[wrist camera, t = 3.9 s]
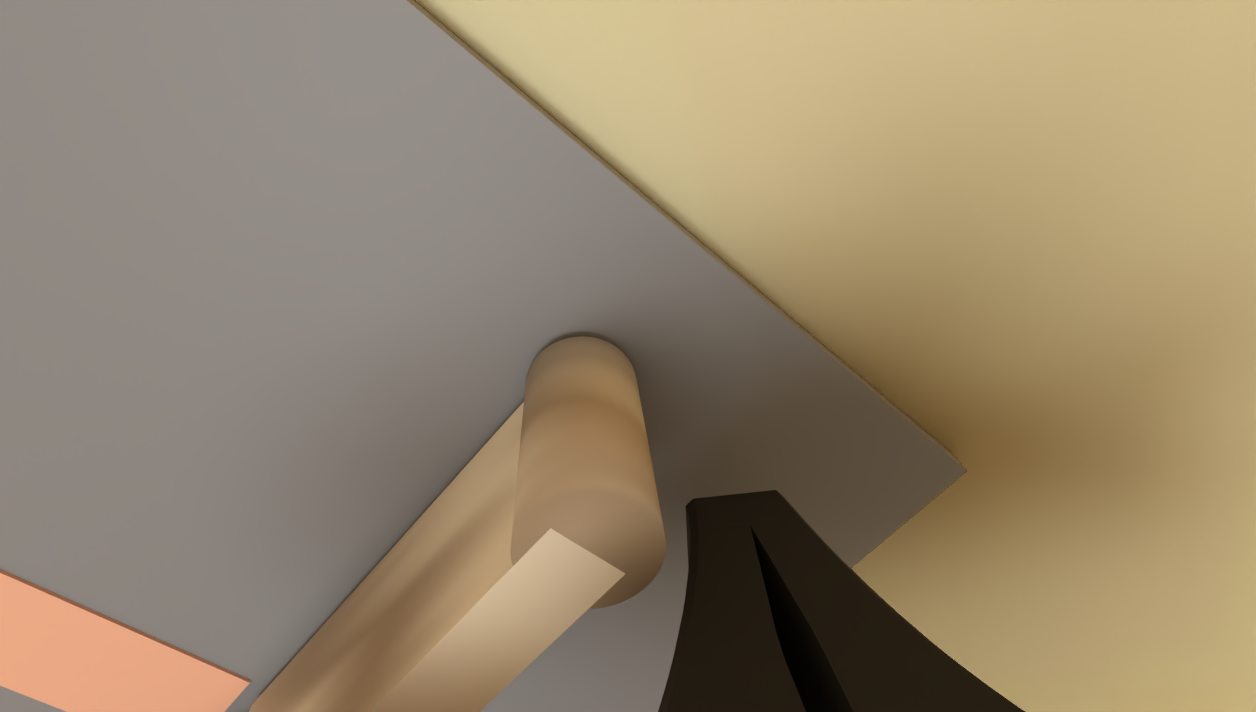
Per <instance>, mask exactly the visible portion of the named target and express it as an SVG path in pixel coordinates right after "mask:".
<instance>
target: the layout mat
mask: <svg viewBox="0 0 1256 712" xmlns="http://www.w3.org/2000/svg"><path fill="white" fill-rule="evenodd" d="M581 336H584V337H593V338H598V339H601V340H604V341H607V342H609V343H611V344H613V345H614V346H616V347H617V348H618V349H620V350H621V351H622V352H623V353H624V354H625V355H626V356H627V357H628V359H629V360H630V362H631V364H632V366H633V368H634V371H635V374H636V379H637V384H638V390H639V395H640V401H641V406H642V412H643V417H644V423H645V428H646V434H647V439H648V445H649V450H650V456H651V461H652V467H653V472H654V478H655V483H656V489H657V494H658V500H659V506H660V511H661V517H662V522H663V528H664V533H665V539H666V553H665V559H664V561H663V564H662V567H661V569H660V571H659V572H658V574H657V575H656V577H655V578H654V580H653V581H652V582H651V583H650V584H649V585H648V586H647V587H646V588H645V589H643V590H642V591H641V592H640V593H638V594H637V595H635V596H633V597H632V598H630V599H628V600H626V601H624V602H621V603H618V604H616V605H612V606H608V607H604V608H598V609H588V610H587V611H586V612H585V613H584V614H582V615H581V616H580V617H579V618H578V619H577V620H576V621H575V622H574V623H573V624H572V625H571V626H570V627H569V628H568V629H567V630H566V631H564V632H563V633H562V634H561V635H560V636H559V637H558V638H557V639H556V640H555V641H554V642H553V643H552V644H551V645H550V646H549V647H548V648H546V649H545V650H544V651H543V652H542V653H541V654H540V655H539V656H538V657H537V658H536V659H535V660H534V661H533V662H532V663H531V664H530V665H528V666H527V667H526V668H525V669H524V670H523V671H522V672H521V673H520V674H519V675H518V676H517V677H516V678H515V679H514V680H513V681H512V682H510V683H509V684H508V685H507V686H506V687H505V688H504V689H503V690H502V691H501V692H500V693H499V694H498V695H497V696H496V697H495V698H494V699H492V700H491V701H490V702H489V703H488V704H487V705H486V706H485V707H484V708H483V709H482V710H481V711H480V712H658V710H659V707H660V704H661V700H662V697H663V694H664V690H665V687H666V683H667V680H668V676H669V672H670V668H671V664H672V660H673V656H674V652H675V647H676V642H677V637H678V633H679V628H680V623H681V619H682V614H683V608H684V602H685V594H686V587H687V579H688V571H689V570H688V548H687V526H686V505H687V504H688V503H689V502H690V501H691V500H692V499H694V498H703V497H713V496H722V495H732V494H741V493H751V492H760V491H770V490H777V491H778V492H779V493H780V494H781V495H783V496H784V497H785V499H786V500H787V501H788V502H789V503H790V504H791V506H792V507H793V508H794V509H795V510H796V511H797V512H798V513H799V515H800V516H801V517H802V518H803V519H804V520H805V521H806V522H807V523H808V525H809V526H810V527H811V528H812V529H813V530H814V531H815V532H816V533H817V534H818V535H819V536H820V538H821V539H822V540H823V541H824V542H825V543H826V544H827V545H828V546H829V547H830V548H831V549H832V550H833V551H834V552H835V553H836V554H837V555H838V556H839V557H840V558H841V559H842V560H843V561H844V562H845V563H846V564H847V565H848V566H849V567H850V568H852V567H853V566H854V565H855V564H856V563H858V562H859V561H860V560H861V559H862V558H864V557H865V556H866V555H867V554H868V553H870V552H871V551H872V550H873V549H874V548H876V547H877V546H878V545H879V544H880V543H882V542H883V541H884V540H885V539H886V538H888V537H889V536H890V535H891V534H892V533H894V532H895V531H896V530H897V529H898V528H900V527H901V526H902V525H903V524H904V523H906V522H907V521H908V520H909V519H910V518H911V517H913V516H914V515H915V514H916V513H917V512H919V511H920V510H921V509H922V508H923V507H925V506H926V505H927V504H928V503H929V502H931V501H932V500H933V499H934V498H935V497H937V496H938V495H939V494H940V493H941V492H943V491H944V490H945V489H946V488H947V487H949V486H950V485H951V484H952V483H953V482H955V481H956V480H957V479H958V478H959V477H961V476H962V475H963V474H964V473H965V472H967V470H966V469H965V468H964V466H963V465H962V464H961V463H960V462H959V460H958V459H957V458H956V457H955V456H954V455H953V454H952V453H950V452H949V451H948V450H947V449H946V448H945V447H943V446H942V445H941V444H940V443H939V442H937V441H936V440H935V439H934V438H933V437H931V436H930V435H929V434H928V433H927V432H926V431H924V430H923V429H922V428H921V427H920V426H918V425H917V424H916V423H915V422H914V421H912V420H911V419H910V418H909V417H908V416H907V415H905V414H904V413H903V412H902V411H901V410H899V409H898V408H897V407H896V406H895V405H894V404H892V403H891V402H890V401H889V400H888V399H886V398H885V397H884V396H883V395H882V394H880V393H879V392H878V391H877V390H876V389H875V388H873V387H872V386H871V385H870V384H869V383H867V382H866V381H865V380H864V379H863V378H861V377H860V376H859V375H858V374H857V373H856V372H854V371H853V370H852V369H851V368H850V367H848V366H847V365H846V364H845V363H844V362H843V361H841V360H840V359H839V358H838V357H837V356H835V355H834V354H833V353H832V352H831V351H829V350H828V349H827V348H826V347H825V346H824V345H822V344H821V343H820V342H819V341H818V340H816V339H815V338H814V337H813V336H812V335H810V334H809V333H808V332H807V331H806V330H805V329H803V328H802V327H801V326H800V325H799V324H797V323H796V322H795V321H794V320H793V319H791V318H790V317H789V316H788V315H787V314H786V313H784V312H783V311H782V310H781V309H780V308H778V307H777V306H776V305H775V304H774V303H773V302H771V301H770V300H769V299H768V298H767V297H765V296H764V295H763V294H762V293H761V292H759V291H758V290H757V289H756V288H755V287H754V286H752V285H751V284H750V283H749V282H748V281H746V280H745V279H744V278H743V277H742V276H740V275H739V274H738V273H737V272H736V271H735V270H733V269H732V268H731V267H730V266H729V265H727V264H726V263H725V262H724V261H723V260H722V259H720V258H719V257H718V256H717V255H716V254H714V253H713V252H712V251H711V250H710V249H708V248H707V247H706V246H705V245H704V244H703V243H701V242H700V241H699V240H698V239H697V238H695V237H694V236H693V235H692V234H691V233H689V232H688V231H687V230H686V229H685V228H684V227H682V226H681V225H680V224H679V223H678V222H676V221H675V220H674V219H673V218H672V217H671V216H669V215H668V214H667V213H666V212H665V211H663V210H662V209H661V208H660V207H659V206H657V205H656V204H655V203H654V202H653V201H652V200H650V199H649V198H648V197H647V196H646V195H644V194H643V193H642V192H641V191H640V190H638V189H637V188H636V187H635V186H634V185H633V184H631V183H630V182H629V181H628V180H627V179H625V178H624V177H623V176H622V175H621V174H619V173H618V172H617V171H616V170H615V169H614V168H612V167H611V166H610V165H609V164H608V163H606V162H605V161H604V160H603V159H602V158H601V157H599V156H598V155H597V154H596V153H595V152H593V151H592V150H591V149H590V148H589V147H587V146H586V145H585V144H584V143H583V142H582V141H580V140H579V139H578V138H577V137H576V136H574V135H573V134H572V133H571V132H570V131H568V130H567V129H566V128H565V127H564V126H563V125H561V124H560V123H559V122H558V121H557V120H555V119H554V118H553V117H552V116H551V115H550V114H548V113H547V112H546V111H545V110H544V109H542V108H541V107H540V106H539V105H538V104H536V103H535V102H534V101H533V100H532V99H531V98H529V97H528V96H527V95H526V94H525V93H523V92H522V91H521V90H520V89H519V88H517V87H516V86H515V85H514V84H513V83H512V82H510V81H509V80H508V79H507V78H506V77H504V76H503V75H502V74H501V73H500V72H498V71H497V70H496V69H495V68H494V67H493V66H491V65H490V64H489V63H488V62H487V61H485V60H484V59H483V58H482V57H481V56H480V55H478V54H477V53H476V52H475V51H474V50H472V49H471V48H470V47H469V46H468V45H466V44H465V43H464V42H463V41H462V40H461V39H459V38H458V37H457V36H456V35H455V34H453V33H452V32H451V31H450V30H449V29H447V28H446V27H445V26H444V25H443V24H442V23H440V22H439V21H438V20H437V19H436V18H434V17H433V16H432V15H431V14H430V13H429V12H427V11H426V10H425V9H424V8H423V7H421V6H420V5H419V4H418V3H417V2H415V1H414V0H0V712H249V710H250V708H251V705H252V704H253V703H254V702H255V701H256V700H257V699H258V697H259V696H260V695H261V694H262V693H263V692H264V691H265V690H266V689H267V687H268V686H269V685H270V684H271V683H272V682H273V681H274V680H275V679H276V677H277V676H278V675H279V674H280V673H281V672H282V671H283V670H284V668H285V667H286V666H287V665H288V664H289V663H290V662H291V661H292V660H293V658H294V657H295V656H296V655H297V654H298V653H299V652H300V651H301V649H302V648H303V647H304V646H305V645H306V644H307V643H308V642H309V641H310V639H311V638H312V637H313V636H314V635H315V634H316V633H317V632H318V631H319V629H320V628H321V627H322V626H323V625H324V624H325V623H326V622H327V620H328V619H329V618H330V617H331V616H332V615H333V614H334V613H335V612H336V610H337V609H338V608H339V607H340V606H341V605H342V604H343V603H344V601H345V600H346V599H347V598H348V597H349V596H350V595H351V594H352V593H353V591H354V590H355V589H356V588H357V587H358V586H359V585H360V584H361V583H362V581H363V580H364V579H365V578H366V577H367V576H368V575H369V574H370V572H371V571H372V570H373V569H374V568H375V567H376V566H377V565H378V564H379V562H380V561H381V560H382V559H383V558H384V557H385V556H386V555H387V554H388V552H389V551H390V550H391V549H392V548H393V547H394V546H395V545H396V543H397V542H398V541H399V540H400V539H401V538H402V537H403V536H404V535H405V533H406V532H407V531H408V530H409V529H410V528H411V527H412V526H413V524H414V523H415V522H416V521H417V520H418V519H419V518H420V517H421V516H422V514H423V513H424V512H425V511H426V510H427V509H428V508H429V507H430V506H431V504H432V503H433V502H434V501H435V500H436V499H437V498H438V497H439V495H440V494H441V493H442V492H443V491H444V490H445V489H446V488H447V487H448V485H449V484H450V483H451V482H452V481H453V480H454V479H455V478H456V477H457V475H458V474H459V473H460V472H461V471H462V470H463V469H464V468H465V466H466V465H467V464H468V463H469V462H470V461H471V460H472V459H473V458H474V456H475V455H476V454H477V453H478V452H479V451H480V450H481V449H482V447H483V446H484V445H485V444H486V443H487V442H488V441H489V440H490V439H491V437H492V436H493V435H494V434H495V433H496V432H497V431H498V430H499V429H500V427H501V426H502V425H503V424H504V423H505V422H506V421H507V420H508V418H509V417H510V416H511V415H512V414H513V413H514V412H515V411H516V410H517V408H518V407H519V406H520V405H521V404H522V403H523V402H524V396H525V385H526V377H527V373H528V370H529V368H530V366H531V364H532V362H533V361H534V359H535V358H536V357H537V356H538V355H539V354H540V353H541V352H542V351H543V350H544V349H545V348H547V347H548V346H550V345H551V344H553V343H555V342H557V341H560V340H563V339H566V338H571V337H581Z"/></svg>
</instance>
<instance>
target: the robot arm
mask: <svg viewBox="0 0 1256 712" xmlns="http://www.w3.org/2000/svg"><path fill="white" fill-rule="evenodd" d="M686 526H687V548H688V570H689V571H688V579H687V587H686V594H685V602H684V608H683V614H682V619H681V623H680V628H679V633H678V637H677V642H676V647H675V652H674V656H673V660H672V664H671V668H670V672H669V676H668V680H667V683H666V687H665V690H664V694H663V697H662V700H661V704H660V707H659V710H658V712H1025V711H1023V710H1022V709H1020V708H1019V707H1017V706H1016V705H1014V704H1013V703H1012V702H1010V701H1009V700H1007V699H1006V698H1004V697H1003V696H1002V695H1000V694H999V693H997V692H996V691H994V690H993V689H992V688H990V687H989V686H987V685H986V684H985V683H983V682H982V681H981V680H980V679H978V678H977V677H976V676H974V675H973V674H972V673H970V672H969V671H968V670H966V669H965V668H964V667H962V666H961V665H960V664H958V663H957V662H956V661H954V660H953V659H952V658H951V657H949V656H948V655H947V654H946V653H944V652H943V651H942V650H941V649H939V648H938V647H937V646H936V645H935V644H933V643H932V642H931V641H930V640H929V639H927V638H926V637H925V636H924V635H923V634H921V633H920V632H919V631H918V630H917V629H916V628H915V627H913V626H912V625H911V624H910V623H909V622H908V621H906V620H905V619H904V618H903V617H902V616H901V615H900V614H898V613H897V612H896V611H895V610H894V609H893V608H892V607H891V606H890V605H888V604H887V603H886V602H885V601H884V600H883V599H882V598H881V597H880V596H879V595H878V594H876V593H875V592H874V591H873V590H872V589H871V588H870V587H869V586H868V585H867V584H866V583H865V582H864V581H863V580H862V579H861V578H860V577H859V576H858V575H857V574H856V573H855V572H854V571H853V570H852V569H851V568H850V567H849V566H848V565H847V564H846V563H845V562H844V561H843V560H842V559H841V558H840V557H839V556H838V555H837V554H836V553H835V552H834V551H833V550H832V549H831V548H830V547H829V546H828V545H827V544H826V543H825V542H824V541H823V540H822V539H821V538H820V536H819V535H818V534H817V533H816V532H815V531H814V530H813V529H812V528H811V527H810V526H809V525H808V523H807V522H806V521H805V520H804V519H803V518H802V517H801V516H800V515H799V513H798V512H797V511H796V510H795V509H794V508H793V507H792V506H791V504H790V503H789V502H788V501H787V500H786V499H785V497H784V496H783V495H781V494H780V493H779V492H778V491H777V490H770V491H760V492H751V493H741V494H732V495H722V496H713V497H703V498H694V499H692V500H691V501H690V502H689V503H688V504H687V505H686Z"/></svg>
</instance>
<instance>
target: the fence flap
mask: <svg viewBox="0 0 1256 712" xmlns="http://www.w3.org/2000/svg"><path fill="white" fill-rule="evenodd" d="M665 553H666V539H665V533H664V528H663V522H662V517H661V511H660V506H659V500H658V494H657V489H656V483H655V478H654V472H653V467H652V461H651V456H650V450H649V445H648V439H647V434H646V428H645V423H644V417H643V412H642V406H641V401H640V395H639V390H638V384H637V379H636V374H635V371H634V368H633V366H632V364H631V362H630V360H629V359H628V357H627V356H626V355H625V354H624V353H623V352H622V351H621V350H620V349H618V348H617V347H616V346H614V345H613V344H611V343H609V342H607V341H604V340H601V339H598V338H593V337H584V336H581V337H571V338H566V339H563V340H560V341H557V342H555V343H553V344H551V345H550V346H548V347H547V348H545V349H544V350H543V351H542V352H541V353H540V354H539V355H538V356H537V357H536V358H535V359H534V361H533V362H532V364H531V366H530V368H529V370H528V373H527V377H526V385H525V396H524V402H523V403H522V404H521V405H520V406H519V407H518V408H517V410H516V411H515V412H514V413H513V414H512V415H511V416H510V417H509V418H508V420H507V421H506V422H505V423H504V424H503V425H502V426H501V427H500V429H499V430H498V431H497V432H496V433H495V434H494V435H493V436H492V437H491V439H490V440H489V441H488V442H487V443H486V444H485V445H484V446H483V447H482V449H481V450H480V451H479V452H478V453H477V454H476V455H475V456H474V458H473V459H472V460H471V461H470V462H469V463H468V464H467V465H466V466H465V468H464V469H463V470H462V471H461V472H460V473H459V474H458V475H457V477H456V478H455V479H454V480H453V481H452V482H451V483H450V484H449V485H448V487H447V488H446V489H445V490H444V491H443V492H442V493H441V494H440V495H439V497H438V498H437V499H436V500H435V501H434V502H433V503H432V504H431V506H430V507H429V508H428V509H427V510H426V511H425V512H424V513H423V514H422V516H421V517H420V518H419V519H418V520H417V521H416V522H415V523H414V524H413V526H412V527H411V528H410V529H409V530H408V531H407V532H406V533H405V535H404V536H403V537H402V538H401V539H400V540H399V541H398V542H397V543H396V545H395V546H394V547H393V548H392V549H391V550H390V551H389V552H388V554H387V555H386V556H385V557H384V558H383V559H382V560H381V561H380V562H379V564H378V565H377V566H376V567H375V568H374V569H373V570H372V571H371V572H370V574H369V575H368V576H367V577H366V578H365V579H364V580H363V581H362V583H361V584H360V585H359V586H358V587H357V588H356V589H355V590H354V591H353V593H352V594H351V595H350V596H349V597H348V598H347V599H346V600H345V601H344V603H343V604H342V605H341V606H340V607H339V608H338V609H337V610H336V612H335V613H334V614H333V615H332V616H331V617H330V618H329V619H328V620H327V622H326V623H325V624H324V625H323V626H322V627H321V628H320V629H319V631H318V632H317V633H316V634H315V635H314V636H313V637H312V638H311V639H310V641H309V642H308V643H307V644H306V645H305V646H304V647H303V648H302V649H301V651H300V652H299V653H298V654H297V655H296V656H295V657H294V658H293V660H292V661H291V662H290V663H289V664H288V665H287V666H286V667H285V668H284V670H283V671H282V672H281V673H280V674H279V675H278V676H277V677H276V679H275V680H274V681H273V682H272V683H271V684H270V685H269V686H268V687H267V689H266V690H265V691H264V692H263V693H262V694H261V695H260V696H259V697H258V699H257V700H256V701H255V702H254V703H253V704H252V705H251V708H250V710H249V712H480V711H481V710H482V709H483V708H484V707H485V706H486V705H487V704H488V703H489V702H490V701H491V700H492V699H494V698H495V697H496V696H497V695H498V694H499V693H500V692H501V691H502V690H503V689H504V688H505V687H506V686H507V685H508V684H509V683H510V682H512V681H513V680H514V679H515V678H516V677H517V676H518V675H519V674H520V673H521V672H522V671H523V670H524V669H525V668H526V667H527V666H528V665H530V664H531V663H532V662H533V661H534V660H535V659H536V658H537V657H538V656H539V655H540V654H541V653H542V652H543V651H544V650H545V649H546V648H548V647H549V646H550V645H551V644H552V643H553V642H554V641H555V640H556V639H557V638H558V637H559V636H560V635H561V634H562V633H563V632H564V631H566V630H567V629H568V628H569V627H570V626H571V625H572V624H573V623H574V622H575V621H576V620H577V619H578V618H579V617H580V616H581V615H582V614H584V613H585V612H586V611H587V610H588V609H598V608H604V607H608V606H612V605H616V604H618V603H621V602H624V601H626V600H628V599H630V598H632V597H633V596H635V595H637V594H638V593H640V592H641V591H642V590H643V589H645V588H646V587H647V586H648V585H649V584H650V583H651V582H652V581H653V580H654V578H655V577H656V575H657V574H658V572H659V571H660V569H661V567H662V564H663V561H664V559H665Z"/></svg>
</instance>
